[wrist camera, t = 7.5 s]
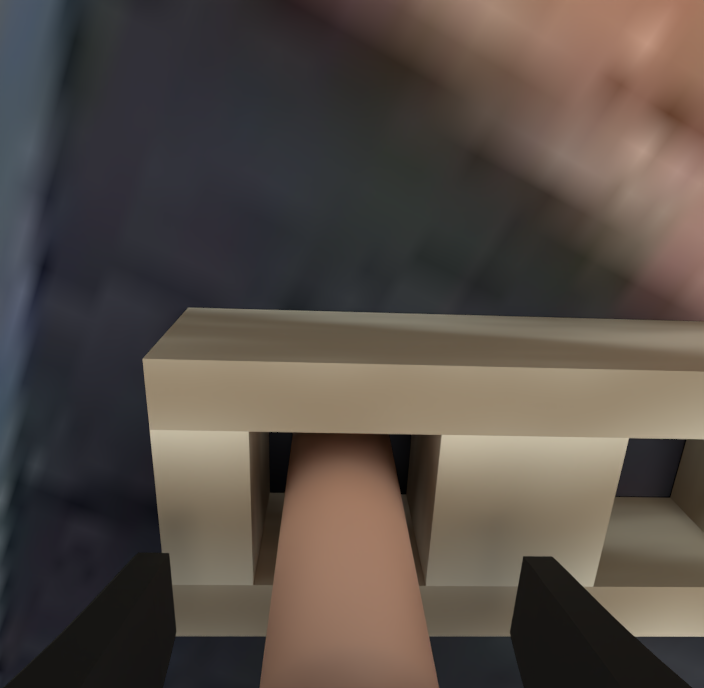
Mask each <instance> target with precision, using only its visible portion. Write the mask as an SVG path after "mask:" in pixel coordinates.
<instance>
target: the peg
mask: <svg viewBox="0 0 704 688" xmlns="http://www.w3.org/2000/svg"><path fill="white" fill-rule="evenodd" d="M260 688H439V685H438V680H437V675H436V670H435V665H434V660H433V655H432V650H431V644H430V639H429V634H428V629H427V624H426V619H425V614H424V609H423V604H422V599H421V594H420V589H419V584H418V578H417V573H416V568H415V563H414V558H413V553H412V548H411V543H410V538H409V533H408V528H407V523H406V518H405V512H404V507H403V502H402V497H401V492H400V487H399V482H398V477H397V472H396V467H395V462H394V457H393V452H392V446H391V441H390V436H389V434H363V433H304V432H293V436H292V443H291V451H290V459H289V466H288V474H287V481H286V489H285V497H284V504H283V512H282V520H281V527H280V535H279V543H278V550H277V558H276V565H275V573H274V581H273V588H272V596H271V604H270V611H269V619H268V627H267V634H266V642H265V649H264V657H263V665H262V672H261V680H260Z"/></svg>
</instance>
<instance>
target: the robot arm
mask: <svg viewBox="0 0 704 688" xmlns="http://www.w3.org/2000/svg"><path fill="white" fill-rule="evenodd" d="M510 635H511V640H512V644H513V648H514V652H515V656H516V660H517V664H518V668H519V671H520V675H521V679H522V682H523V686H524V688H692V687H691V686H689V685H688V684H687V683H686V682H685V681H684V680H683V679H681V678H680V677H679V676H678V675H677V674H676V673H674V672H673V671H672V670H671V669H670V668H669V667H668V666H666V665H665V664H664V663H663V662H662V661H661V660H659V659H658V658H657V657H656V656H655V655H654V654H653V653H652V652H651V651H650V650H648V649H647V648H646V647H645V646H644V645H643V644H642V643H641V642H640V641H639V640H638V639H637V638H635V637H634V636H633V635H632V634H631V633H630V632H629V631H628V630H627V629H626V628H625V627H624V626H623V625H622V624H621V623H620V622H619V621H617V620H616V619H615V618H614V617H613V616H612V615H611V614H610V613H609V612H608V611H607V610H606V609H605V608H604V607H603V606H602V605H601V604H600V603H599V602H598V601H597V600H596V599H595V598H594V597H593V596H592V595H591V594H590V593H589V592H588V591H587V590H586V589H585V588H584V587H583V586H582V585H581V584H580V583H579V582H578V581H577V580H576V579H575V578H574V577H573V576H572V575H571V574H570V573H569V572H568V571H567V570H566V569H565V568H564V567H563V566H562V565H561V564H560V563H559V562H558V561H557V560H556V559H555V558H554V557H552V556H523V561H522V566H521V572H520V577H519V583H518V589H517V594H516V600H515V606H514V611H513V617H512V622H511V628H510ZM175 636H176V620H175V610H174V599H173V588H172V577H171V566H170V556H169V553H138V554H137V555H135V556H134V557H133V558H132V559H131V560H130V561H129V562H128V564H127V565H126V566H125V567H124V568H123V569H122V570H121V571H120V572H119V573H118V574H117V575H116V576H115V578H114V579H113V580H112V581H111V582H110V583H109V584H108V585H107V586H106V587H105V588H104V589H103V590H102V591H101V593H100V594H99V595H98V596H97V597H96V598H95V599H94V600H93V601H92V602H91V603H90V604H89V605H88V606H87V607H86V608H85V609H84V610H83V611H82V612H81V613H80V614H79V615H78V616H77V617H76V618H75V619H74V620H73V621H72V622H71V623H70V624H69V625H68V626H67V627H66V629H65V630H64V631H63V632H62V633H61V634H60V635H59V636H58V637H57V638H56V639H55V640H54V641H53V642H52V643H50V644H49V645H48V646H47V647H46V648H45V649H44V650H43V651H42V652H41V653H40V654H39V655H38V656H37V657H36V658H35V659H34V660H32V661H31V662H30V663H29V664H28V665H27V666H26V667H25V668H24V669H23V670H22V671H21V672H20V673H19V674H17V675H16V676H15V677H14V678H13V679H12V680H11V681H10V682H9V683H8V684H7V685H5V686H4V687H3V688H163V685H164V681H165V677H166V673H167V669H168V665H169V661H170V657H171V653H172V648H173V644H174V640H175Z"/></svg>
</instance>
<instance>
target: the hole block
mask: <svg viewBox="0 0 704 688" xmlns="http://www.w3.org/2000/svg"><path fill="white" fill-rule="evenodd" d="M143 367H144V378H145V388H146V398H147V408H148V418H149V428H150V438H151V448H152V458H153V468H154V478H155V488H156V498H157V508H158V518H159V528H160V538H161V548H162V553H169V556H170V566H171V577H172V588H173V599H174V610H175V620H176V636H266V634H267V627H268V619H269V611H270V604H271V596H272V588H273V581H274V573H275V565H276V558H277V550H278V543H279V535H280V527H281V520H282V512H283V504H284V497H285V493H270V468H269V432H304V433H363V434H411V445H410V457H409V469H408V480H407V492H406V494H401V497H402V502H403V507H404V512H405V518H406V523H407V528H408V533H409V538H410V543H411V548H412V553H413V558H414V563H415V568H416V573H417V578H418V584H419V589H420V594H421V599H422V604H423V609H424V614H425V619H426V624H427V629H428V634H429V636H511V635H510V628H511V622H512V617H513V611H514V606H515V600H516V594H517V589H518V583H519V577H520V572H521V566H522V561H523V556H552V557H554V558H555V559H556V560H557V561H558V562H559V563H560V564H561V565H562V566H563V567H564V568H565V569H566V570H567V571H568V572H569V573H570V574H571V575H572V576H573V577H574V578H575V579H576V580H577V581H578V582H579V583H580V584H581V585H582V586H583V587H584V588H585V589H586V590H587V591H588V592H589V593H590V594H591V595H592V596H593V597H594V598H595V599H596V600H597V601H598V602H599V603H600V604H601V605H602V606H603V607H604V608H605V609H606V610H607V611H608V612H609V613H610V614H611V615H612V616H613V617H614V618H615V619H616V620H617V621H619V622H620V623H621V624H622V625H623V626H624V627H625V628H626V629H627V630H628V631H629V632H630V633H631V634H632V635H633V636H704V322H703V321H666V320H629V319H592V318H555V317H518V316H481V315H444V314H406V313H369V312H332V311H295V310H258V309H221V308H187V310H186V311H185V312H184V313H183V314H182V315H181V316H180V317H179V319H178V320H177V321H176V322H175V323H174V324H173V325H172V326H171V328H170V329H169V330H168V331H167V332H166V333H165V334H164V335H163V337H162V338H161V339H160V340H159V341H158V342H157V343H156V344H155V346H154V347H153V348H152V349H151V350H150V351H149V352H148V353H147V354H146V356H145V357H144V358H143ZM629 438H657V439H687V440H686V443H685V447H684V450H683V454H682V457H681V461H680V465H679V468H678V472H677V475H676V479H675V482H674V486H673V489H672V493H671V497H670V498H659V497H615V494H616V490H617V486H618V482H619V477H620V473H621V469H622V465H623V461H624V457H625V452H626V448H627V444H628V440H629Z"/></svg>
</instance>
